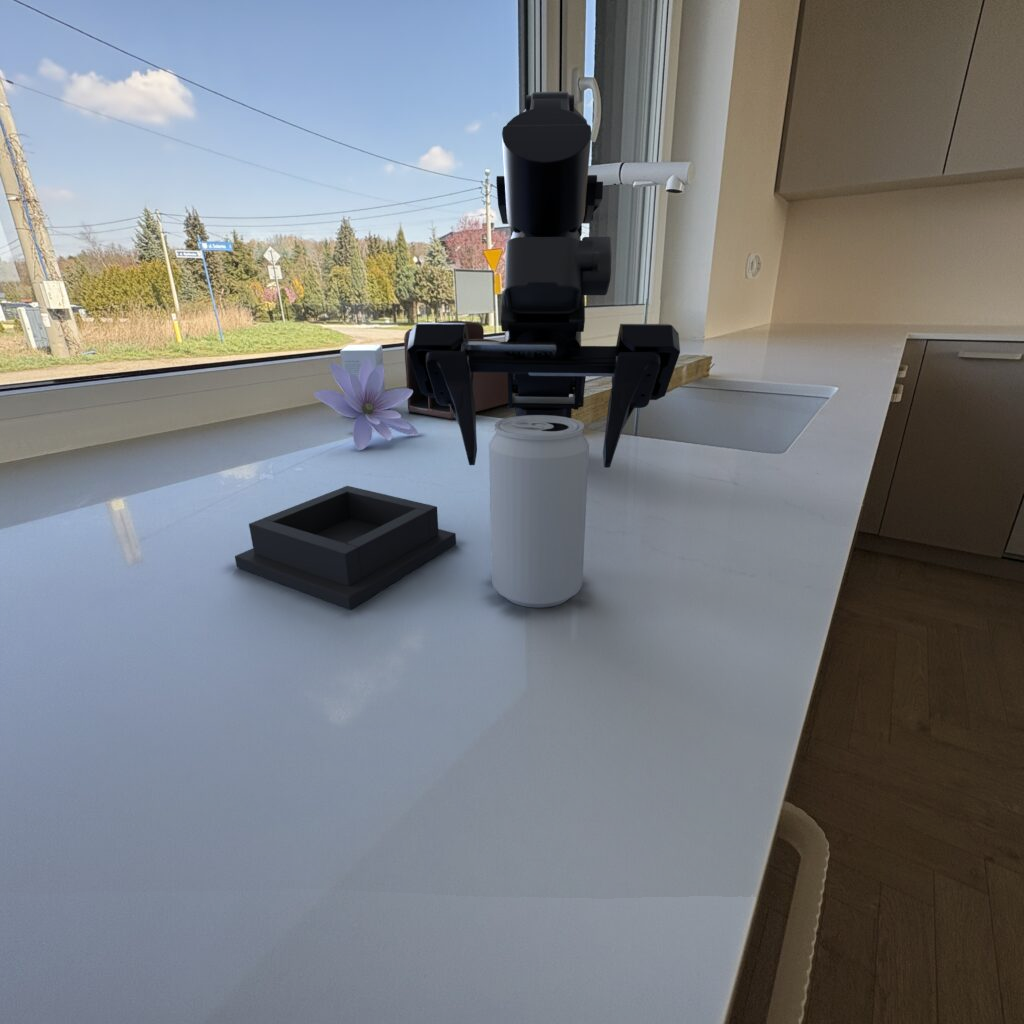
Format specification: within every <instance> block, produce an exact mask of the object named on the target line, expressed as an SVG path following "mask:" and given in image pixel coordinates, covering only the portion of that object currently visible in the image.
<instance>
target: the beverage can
mask: <svg viewBox="0 0 1024 1024" xmlns="http://www.w3.org/2000/svg"><path fill="white" fill-rule="evenodd" d="M493 426H494V427H493V428H494V431H495V433H494V434H493V436H492V437H491V439H490V441H489V443H488V465H489V467H488V468H489V469H488V470H489V471H488V472H489V474H488V475H489V516H490V517H489V518H490V521H489V522H490V567H491V569H490V571H491V573H490V574H491V584H492V586H493V589H494V590H495V591H496V592H497V593H498V594H499V595H501V597H504V598H505V599H506V600H507V601H509V602H511V603H513V604H515V605H518V606H521V607H527V608H535V609H536V608H537V609H538V608H539V609H541V608H542V609H543V608H550V607H555V606H558V605H561V604H563V603H566V602H567V601H568V600H569V599H571V598H572V597H573V596H575V595H576V594H578V592H580V590H581V588H582V586H583V581H584V579H583V578H584V558H585V539H586V538H585V537H586V535H585V534H586V518H587V517H586V516H587V495H588V475H589V474H588V473H589V455H590V444H589V442H588V440H587V438H586V437H585V435H584V433H583V432H584V431H585V425H584V423H583V422H582V421H580V420H577V419H576V418H575V419H574V418H572V417H571V418H567V417H560V416H550V415H527V416H516V417H515V416H510V417H506V418H502V419H500V420H497V421H496V422H495V423H494V425H493Z"/></svg>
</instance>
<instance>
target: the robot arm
mask: <svg viewBox="0 0 1024 1024" xmlns="http://www.w3.org/2000/svg"><path fill="white" fill-rule="evenodd" d="M591 140H592V127H591V125H590V124H588V120H587V119H586V118H585V117H584V116H583V115H582V114H581V113H580V112H579V111H578V109H576V108H575V94H570V93H569V92H568V91H533V92H532V93H531V94H530V95H528V94H527V95H526V96H525V109H524V110H523V111H522V112H520V113H518V114H516V115H515V116H513V117H512V118H511V119H510V120H509V121H508V122H507V123H506V125H505V126H503V127H502V130H501V141H502V142H501V143H502V156H503V157H502V160H503V173H504V175H496V179H495V180H496V195H497V196H496V198H497V207H498V212H499V215H500V219H501V224H502V225H509V228H510V239H509V240H508V241H506V243H505V262H504V288H503V291H502V292H501V293H502V294H501V312H500V327H501V329H500V330H501V332H504V338H503V341H500V342H483V341H469V336H468V330H467V324H466V323H436V322H419V323H416V324H415V325H414V326H413V327H412V328H413V329H412V328H411V329H412V330H411V331H410V335H409V342H408V348H407V351H408V354H409V357H410V360H411V363H412V366H413V370H414V373H415V376H416V379H417V382H418V385H419V388H420V391H421V393H422V394H424V395H426V396H428V397H435V399H436V402H437V403H438V404H440V405H447V406H450V407H451V409H452V412H453V414H454V416H455V418H454V419H455V420H456V422H457V425H458V427H459V430H460V433H461V438H462V441H463V447H464V449H465V454H466V457H467V463H468V465H469V466H475V465H476V461H477V453H478V439H477V437H478V436H477V415H476V414H477V413H475V399H474V393H473V372H508V404H507V406H508V409H509V410H514V409H515V410H514V413H515V415H514V417H516V416H527V415H550V416H560V417H567V418H571V419H572V410H574V411H576V410H579V408H584V404H585V403H584V401H585V388H586V387H585V386H586V378H587V377H608V378H609V377H611V390H610V394H609V398H608V399H609V400H608V404H607V405H608V406H607V412H606V413H607V415H606V423H605V431H604V440H603V446H602V447H603V449H602V459H603V467H604V468H605V469H610V468H611V465H612V463H613V459H614V456H615V454H616V451H617V447H618V445H619V441H620V438H621V435H622V432H623V429H624V428H625V426H626V424H627V422H628V420H629V419H630V417H631V415H632V413H633V412H634V410H635V409H643V408H646V407H648V405H649V403H650V401H657V400H659V399H661V398H663V397H666V394H667V391H668V389H669V386H670V382H671V381H672V378H673V374H674V371H675V368H676V366H677V362H678V360H679V357H680V354H681V346H680V334H679V332H678V331H677V330H676V328H675V327H674V326H673V324H670V323H620V324H619V327H618V333H617V339H616V344H615V345H582V333H584V331H585V325H586V324H585V322H586V321H585V320H586V311H585V310H586V296H606V295H607V294H608V292H609V287H610V285H611V284H610V283H611V279H612V278H611V277H612V241H611V240H612V239H611V237H610V236H584V237H582V239H581V236H582V235H583V225H584V224H589V225H590V224H591V222H592V221H593V220H594V214H595V212H596V211H597V210H598V209H599V207H600V205H601V203H602V200H603V195H604V194H603V193H604V188H603V187H604V181H598V174H589V165H590V154H591V142H592V141H591ZM515 393H518V396H515ZM570 395H572V396H570Z"/></svg>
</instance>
